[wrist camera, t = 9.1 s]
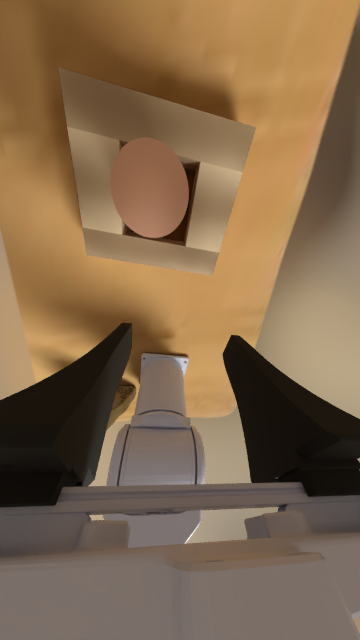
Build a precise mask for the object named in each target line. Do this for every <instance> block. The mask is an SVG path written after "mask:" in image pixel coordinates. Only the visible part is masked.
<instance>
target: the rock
mask: <svg viewBox="0 0 360 640" xmlns="http://www.w3.org/2000/svg"><path fill="white" fill-rule="evenodd" d="M135 395H136V387H133V386H118V389H117V392H116V395H115V399H114V402H113V406H112V410H111V414H110V418H109V421H108V425H107V429H108V428H109V427H110V426H111V425H112V424H113V423H114V422H115V420H116V419H117V418H118V417H119V416H120V415H121V414H123V413H124V412H125V411H126V410H127V408H128V407H129V404H130V403H131V402H132V400H133V399H134V397H135ZM107 429H106V430H107Z"/></svg>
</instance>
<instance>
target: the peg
mask: <svg viewBox="0 0 360 640" xmlns="http://www.w3.org/2000/svg"><path fill="white" fill-rule="evenodd" d="M110 187H111V194H112V199H113V202H114V205H115V208H116V210H117V212H118V214H119V216H120V217H121V219H122V220H123V221H124V223H125V224H126V225H127V226H128V227H129V228H130V229H131V230H133V231H134V232H136V233H137V234H139V235H142V236H144V237H148V238H159V237H163V236H166V235H168V234H170V233H171V232H173V231H174V230H175V229H176V228H177V227H178V226H179V224H180V223H181V221H182V220H183V218H184V215H185V213H186V210H187V206H188V199H189V188H188V181H187V176H186V173H185V170H184V168H183V165H182V163H181V162H180V160H179V158H178V157H177V155H176V154H175V153H174V152H173V151H172V150H171V148H169V147H168V146H167V145H166V144H164V143H163V142H161V141H159V140H156V139H154V138H148V137H144V138H137V139H134V140H132V141H130V142H129V143H127V144H126V145H125V146H124V147H123V148H122V149H121V150H120V151H119V153H118V154H117V156H116V158H115V160H114V163H113V166H112V170H111V178H110Z"/></svg>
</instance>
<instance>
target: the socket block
mask: <svg viewBox="0 0 360 640" xmlns="http://www.w3.org/2000/svg"><path fill="white" fill-rule="evenodd" d="M58 71H59V77H60V84H61V90H62V97H63V103H64V110H65V116H66V123H67V129H68V136H69V142H70V149H71V155H72V162H73V168H74V175H75V181H76V188H77V194H78V201H79V207H80V214H81V220H82V227H83V233H84V240H85V246H86V253H87V255H89V256H95V257H102V258H108V259H114V260H120V261H126V262H132V263H138V264H144V265H151V266H157V267H163V268H169V269H175V270H181V271H187V272H193V273H199V274H206V275H213V272H214V268H215V265H216V261H217V258H218V254H219V251H220V248H221V244H222V241H223V237H224V234H225V231H226V227H227V224H228V220H229V217H230V214H231V210H232V207H233V203H234V200H235V197H236V193H237V190H238V186H239V183H240V180H241V176H242V173H243V169H244V166H245V163H246V159H247V156H248V152H249V149H250V146H251V142H252V139H253V135H254V132H255V128H256V127H252V126H249V125H246V124H243V123H239V122H236V121H233V120H230V119H226V118H223V117H220V116H216V115H213V114H210V113H207V112H203V111H200V110H197V109H194V108H190V107H187V106H184V105H180V104H177V103H174V102H171V101H167V100H164V99H161V98H158V97H154V96H151V95H148V94H145V93H141V92H138V91H135V90H131V89H128V88H125V87H122V86H118V85H115V84H112V83H109V82H105V81H102V80H99V79H95V78H92V77H89V76H86V75H82V74H79V73H76V72H73V71H69V70H66V69H63V68H60V67H58ZM144 137H148V138H154V139H156V140H159V141H161V142H163V143H164V144H166V145H167V146H168V147H169V148H171V150H172V151H173V152H174V153H175V154H176V155H177V157H178V158H179V160H180V162H181V163H182V165H183V168H184V169H188V170H192V171H195V177H194V183H193V189H192V195H191V201H190V207H189V213H188V219H187V225H186V231H185V237H184V242H182V241H177V240H171V239H166V238H161V237H159V238H148V237H144V236H142V235H139V234H137V233H134V232H130V228H129V227H128V226H127V225H126V224H125V223H124V221H123V220H122V219H121V217H120V216H119V214H118V212H117V210H116V208H115V205H114V202H113V199H112V194H111V187H110V178H111V170H112V166H113V163H114V160H115V158H116V156H117V154H118V153H119V151H120V150H121V149H122V148H123V147H124V146H125V145H126V144H127V143H129V142H130V141H132V140H134V139H137V138H144Z"/></svg>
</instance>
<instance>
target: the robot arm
mask: <svg viewBox="0 0 360 640" xmlns="http://www.w3.org/2000/svg"><path fill="white" fill-rule="evenodd" d="M131 348H132V324H131V323H122V324H120V325H119V326H118V327H117V328H116V329H115V330H114V331H113V332H112V333H111V334H110V335H109V336H108V337H106V338H105V339H104V340H103V341H102V342H101V343H99V344H98V345H97V346H96V347H94V348H93V349H92V350H91V351H89V352H88V353H87V354H85V355H84V356H82V357H81V358H79V359H78V360H76V361H75V362H73V363H72V364H70V365H69V366H67V367H65V368H64V369H62V370H60V371H58V372H57V373H55V374H53V375H51V376H50V377H48V378H46V379H44V380H42V381H40V382H38V383H36V384H34V385H32V386H30V387H28V388H27V389H24V390H22V391H20V392H18V393H15V394H13V395H11V396H9V397H6V398H4V399H2V400H0V640H360V634H359V632H358V629H357V627H356V625H355V623H354V620H353V619H356V618H358V617H360V470H359V469H360V462H359V461H358V460H357V458H360V419H358V418H356V417H354V416H352V415H351V414H349V413H346V412H345V411H343V410H341V409H339V408H337V407H335V406H333V405H332V404H330V403H328V402H327V401H325V400H323V399H321V398H320V397H318V396H316V395H315V394H313V393H311V392H310V391H308V390H307V389H305V388H304V387H302V386H301V385H299V384H298V383H296V382H295V381H293V380H292V379H290V378H289V377H288V376H286V375H285V374H283V373H282V372H281V371H280V370H278V369H277V368H276V367H274V366H273V365H272V364H271V363H270V362H268V361H267V360H266V359H265V358H264V357H263V356H262V355H260V354H259V353H258V352H257V351H256V350H255V349H254V348H253V347H252V346H251V345H249V344H248V343H247V342H246V341H245V340H244V339H243V338H241V337H240V336H237V335H231V337H230V339H229V341H228V343H227V346H226V348H225V350H224V352H223V360H224V365H225V368H226V371H227V374H228V377H229V380H230V383H231V386H232V389H233V392H234V395H235V398H236V401H237V405H238V409H239V413H240V417H241V422H242V427H243V432H244V437H245V443H246V449H247V455H248V462H249V469H250V477H251V482H252V483H242V484H241V483H238V484H204V481H205V454H204V447H203V442H202V438H201V435H200V433H199V432H198V431H197V429H196V428H195V427H194V426H191V425H190V418H189V417H186V404H185V390H184V375H185V371H186V368H187V365H188V361H189V358H188V357H184V356H173V355H162V354H151V353H142V355H141V373H140V388H139V393H138V398H137V404H136V409H135V414H134V415H133V416H132V419H131V424H125V425H124V427H123V428H122V429H121V430H120V431H119V433H118V435H117V438H116V441H115V445H114V449H113V453H112V457H111V462H110V467H109V472H108V478H107V486H91V487H88V486H89V484H91V483H92V481H93V480H94V479H95V476H96V471H97V467H98V462H99V458H100V454H101V449H102V445H103V441H104V437H105V433H106V429H107V425H108V421H109V418H110V414H111V410H112V406H113V402H114V399H115V395H116V392H117V389H118V386H119V384H120V381H121V378H122V376H123V373H124V370H125V368H126V365H127V362H128V360H129V356H130V352H131ZM264 507H279V508H278V512H275V513H266V514H263V515H261V516H257V517H253V518H248V519H245V526H246V531H247V536H248V537H247V539H246V540H232V541H218V542H204V543H190V544H185V543H186V542H187V541H188V539H189V538H190V537H191V536H192V534H193V533H194V531H195V530H196V529H197V527H198V525H199V524H200V522H201V513H202V510H217V509H218V510H219V509H243V508H264ZM101 514H102V515H103V518H104V519H105V520H95V521H91V518H90V517H89V515H101Z"/></svg>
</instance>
